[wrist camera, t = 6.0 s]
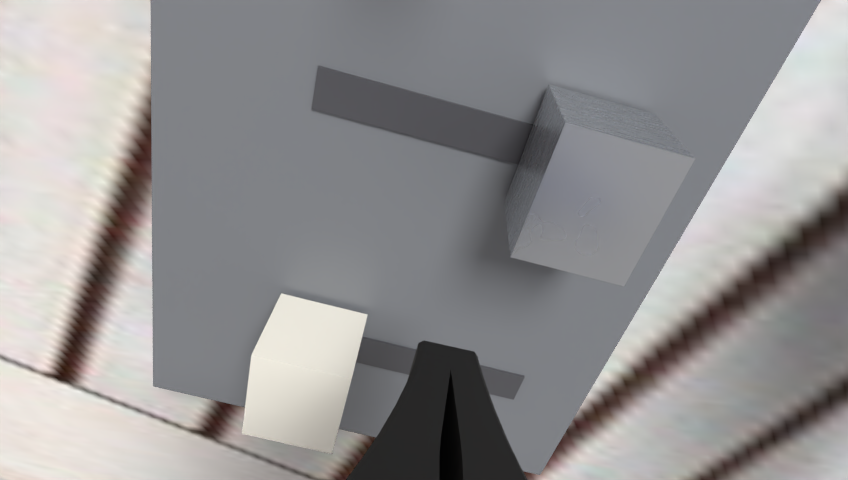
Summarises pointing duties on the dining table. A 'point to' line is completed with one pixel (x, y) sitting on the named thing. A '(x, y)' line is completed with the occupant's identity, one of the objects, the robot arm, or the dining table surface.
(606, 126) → the grey slider
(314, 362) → the cream slider
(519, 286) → the control panel
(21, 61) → the dining table surface
